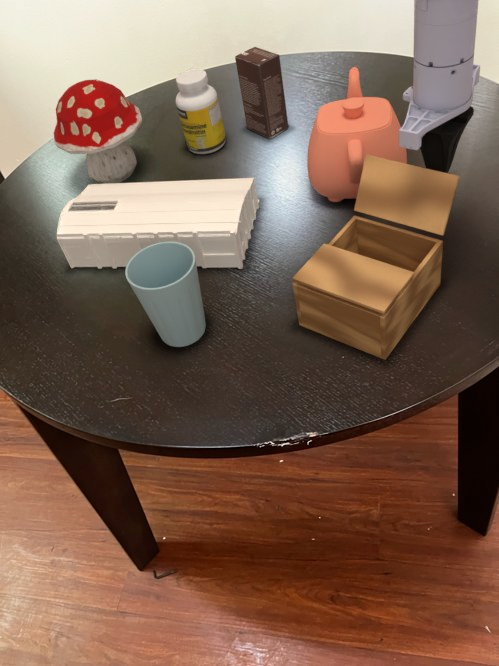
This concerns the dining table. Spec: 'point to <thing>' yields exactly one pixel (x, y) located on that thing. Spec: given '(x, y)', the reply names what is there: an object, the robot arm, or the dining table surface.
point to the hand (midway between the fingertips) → (437, 172)
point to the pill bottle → (199, 112)
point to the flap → (406, 194)
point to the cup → (169, 291)
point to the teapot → (351, 141)
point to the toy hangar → (159, 221)
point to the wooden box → (368, 285)
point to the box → (262, 91)
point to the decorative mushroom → (98, 129)
